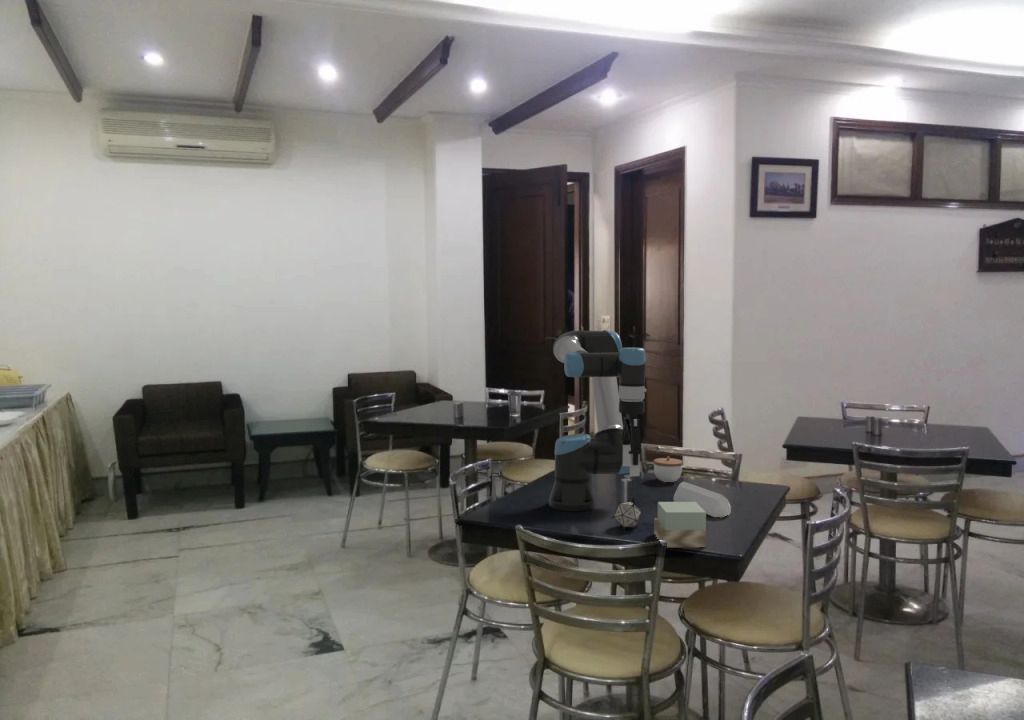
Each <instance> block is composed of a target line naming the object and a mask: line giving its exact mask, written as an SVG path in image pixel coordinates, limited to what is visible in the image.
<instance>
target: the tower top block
mask: <svg viewBox="0 0 1024 720" xmlns="http://www.w3.org/2000/svg"><path fill="white" fill-rule="evenodd" d="M657 518H658V520H659V522H660V523H661V524H662V526H663V527H664V529H665V530H706V529H707V523H706V521H707V514H706V512H705V511H704V510H703V509H702V508H701V507H700V506H699V505H698V504H697V503H696V502H675V501H657ZM706 531H707V530H706Z"/></svg>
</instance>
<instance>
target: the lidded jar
mask: <svg viewBox="0 0 1024 720" xmlns="http://www.w3.org/2000/svg"><path fill="white" fill-rule="evenodd" d="M653 470H654V474H655V477H656V478H657V479H658V480H659V481H660V480H661V481H664V482H663V483H665V482H674V481H676V482H677V481H678V480H679V479H680V477H681V476H682V473H683V472H682V471H683V461H682V460H681V459H677V458H674V457H673V458H672V457H670V456H666V458H665V457H660V458H655V459H654V460H653ZM661 481H660V482H661ZM674 483H675V482H674Z"/></svg>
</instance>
